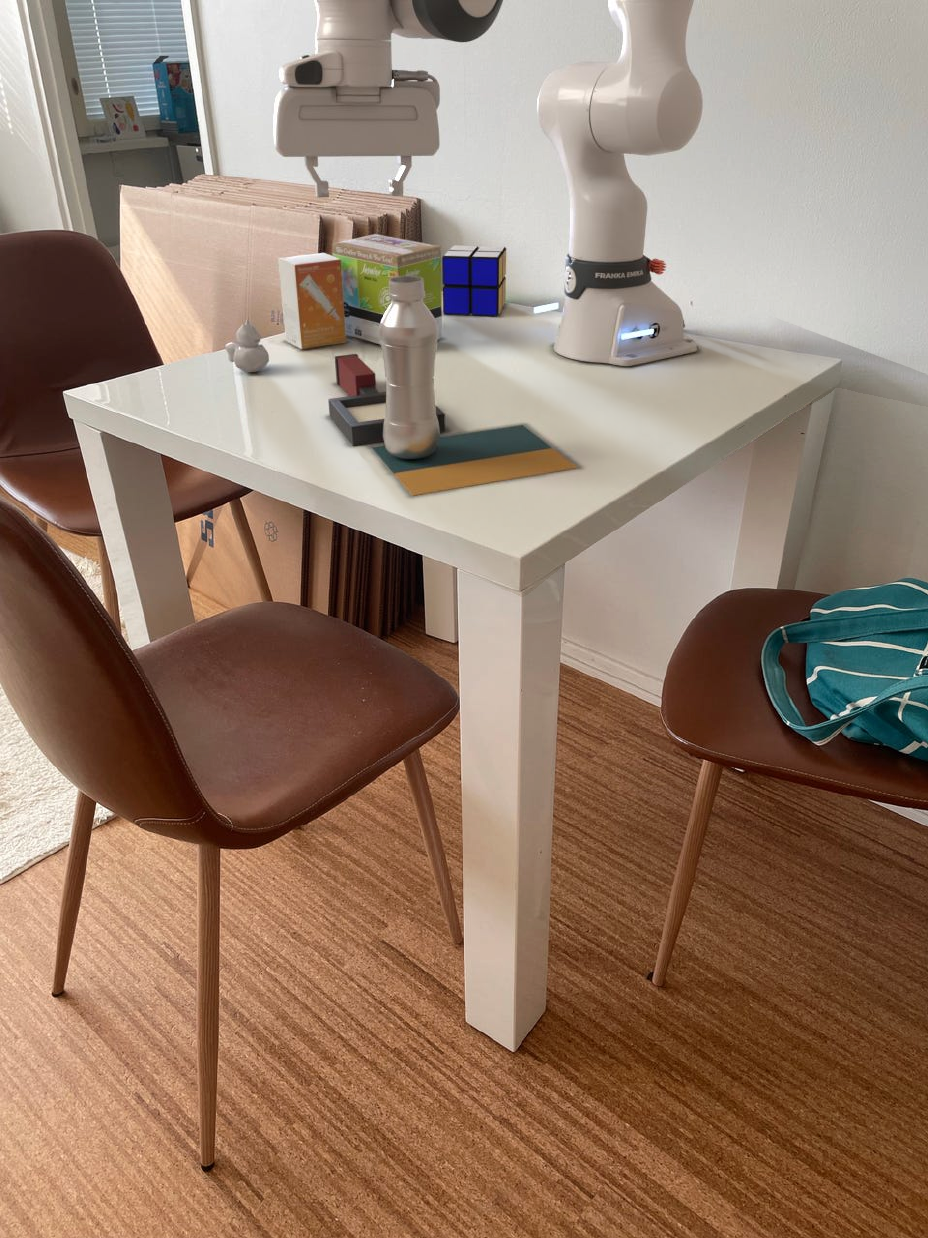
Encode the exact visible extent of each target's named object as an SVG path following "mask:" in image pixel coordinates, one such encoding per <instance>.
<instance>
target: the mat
mask: <svg viewBox="0 0 928 1238" xmlns="http://www.w3.org/2000/svg"><path fill="white" fill-rule="evenodd" d="M372 449H373V451H374V452H375V453H376V455H378V457H379V458H380V459H381V460H382V462H383V463H384V464H385V465H386V466H387V467H388V469H389V470H390V471H391V472H392V474H394V476H396V478H397V479H398V480H399V482H400V483H401V484H402V485H403V486H404V488H405V489H406V490H407V491H408V492H409V493H410V495H411V496H412V497H415V496H422V495H427V494H433V493H438V492H445V491H451V490H457V489H462V488H468V487H474V486H480V485H485V484H491V483H498V482H505V481H509V480H510V481H511V480H516V479H521V478H527V477H534V476H539V475H545V474H551V473H557V472H563V471H568V470H569V471H570V470H575V469H578V467H577V466H576V465H575V464H573V463H572V462H571V461H569V460H568V459H567V458H566V457H564V456H563V455H562V454H561V453H559V452H558V451H557V450H556V449H554V448H553V447H552V446H550V445H549V444H548V443H547V442H545V441H544V440H543V439H541V438H540V437H539V436H537V435H536V434H535V433H533V432H532V431H531V430H530V429H529V428H527V427H526V426H525V425H523V424H521V425H520V424H519V425H514V426H507V427H500V428H493V429H487V430H480V431H473V432H466V433H459V434H453V435H446V436H440V437H439V443H438V446H437V448H436V449H435V451H434V452H433V453H432V454H431V455H429V456H426V457H423V458H417V459H404V458H398V457H395V456H393V455H391V454H390V453H389V452H388V450H387V449H386V448H385V445H379V446H373V447H372Z"/></svg>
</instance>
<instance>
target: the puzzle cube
mask: <svg viewBox="0 0 928 1238" xmlns="http://www.w3.org/2000/svg"><path fill="white" fill-rule="evenodd" d="M506 274H507V248H506V246H495V245H494V246H492V245H491V246H489V245H481V246H478V245H455V244H454V245H452V246H451V248H449V249H448V250H447V251H446V252H445V253H444V255H443V256H441V283H442V285H443V287H442V314H444V315H447V316H470V315H471V316H473V317H498V316H499V315H500V313H501V311H502V309H503V308H504V306H505V303H506V292H507V291H506V290H507V288H506V287H507V285H506V284H507V278H506Z"/></svg>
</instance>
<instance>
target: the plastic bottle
mask: <svg viewBox="0 0 928 1238" xmlns="http://www.w3.org/2000/svg"><path fill="white" fill-rule="evenodd" d="M389 289H390V292H389V298H391V299H392V303H391V305H390V306H389V308H388V309H387V311H386V312H385V314H384V316H383V318H382V320H381V323H380V327H379V337H380V343H381V345H380V348H381V353H382V359H383V364H384V376H385V378H386V379H385V387H386V391H385V392H386V412H385V415H386V416H385V419H384V424H383V440H384V441H383V443H384V446H385V448H386V449H387V450H388V452H389V453H390V454H391V455H393V456H395V457H398V458H404V459H417V458H423V457H426V456H429V455H431V454H432V453H433V452H434V451H435V449H436V448H437V446H438V443H439V437H441V436H440V435H441V433H440V430H439V423H438V418H437V415H436V407H435V405H436V398H435V379H434V377H435V366H436V365H435V363H436V355H437V346H438V341H439V339H437V338H438V325H437V322H436V319H435V318H434V316H433V315H432V313H431V312H430V310H429V309H428V308H427V306H426V305H425V304H424V303H423V298H424V297H425V291H424V281H423V278H421V277H417V276H397V277H393V278H390V279H389Z"/></svg>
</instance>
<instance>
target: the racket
mask: <svg viewBox="0 0 928 1238" xmlns="http://www.w3.org/2000/svg"><path fill="white" fill-rule="evenodd" d="M334 365H335V367H334V369H335V378H336V385H337V386H339V387H340V388H341V389H342V390H343V391H344V392H345V393H346V394H347V396H341V397H333V398H328V400H327V401H328V413H329V418H330V419H331V420H332V421H333V423H334V424H335V425H336V426H337V427H338V429H339V431H341V433H342V434H343V436H345V437H346V439H347V440H348V441H349V442H350V444H351V445H352V446H358V445H359V446H360V445H367V444H371V443H373V444H374V443H378V442H379V443H380V442H384V440H383V424H384V419H385V416H386V415H385V412H386V391H379V390H378V389H377V381H376V372H374V371H373V369H372V368H370V367H369V366H368V365H367V364H366V363H365V362H364V361H363V360H362V359H361V358H360V357H359V355H358V353H350V354H343V355H342V354H341V355H335V356H334ZM435 407H436V415H437V418H438V423H439V430H440V434H441V433H445V432H446V414H445V412H444V411H443V410H441V409H440V408H439V407H438V406H437V405H436V404H435Z"/></svg>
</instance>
